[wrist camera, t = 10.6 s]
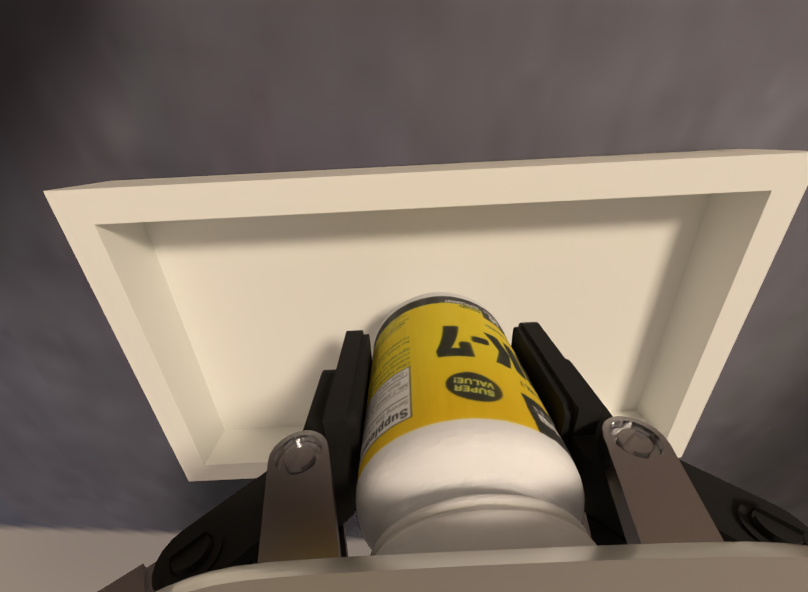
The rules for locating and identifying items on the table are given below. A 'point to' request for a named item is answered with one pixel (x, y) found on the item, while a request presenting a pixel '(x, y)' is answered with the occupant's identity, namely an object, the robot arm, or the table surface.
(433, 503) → the supplement bottle
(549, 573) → the robot arm
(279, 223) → the tray
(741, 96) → the table surface
